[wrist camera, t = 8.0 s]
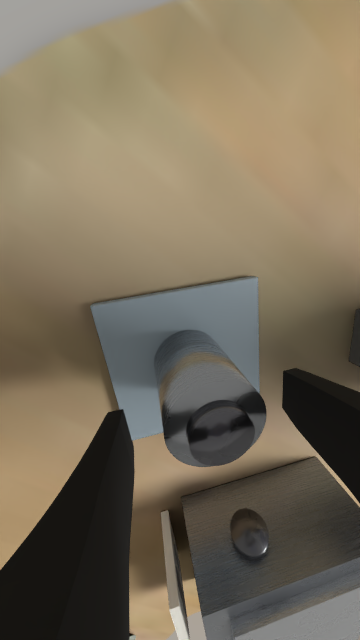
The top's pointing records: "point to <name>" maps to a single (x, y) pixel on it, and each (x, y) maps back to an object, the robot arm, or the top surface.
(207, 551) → the box
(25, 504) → the top surface
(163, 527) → the label tile
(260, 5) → the top surface
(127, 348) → the pad
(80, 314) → the top surface
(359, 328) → the rubber block
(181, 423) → the cylinder
